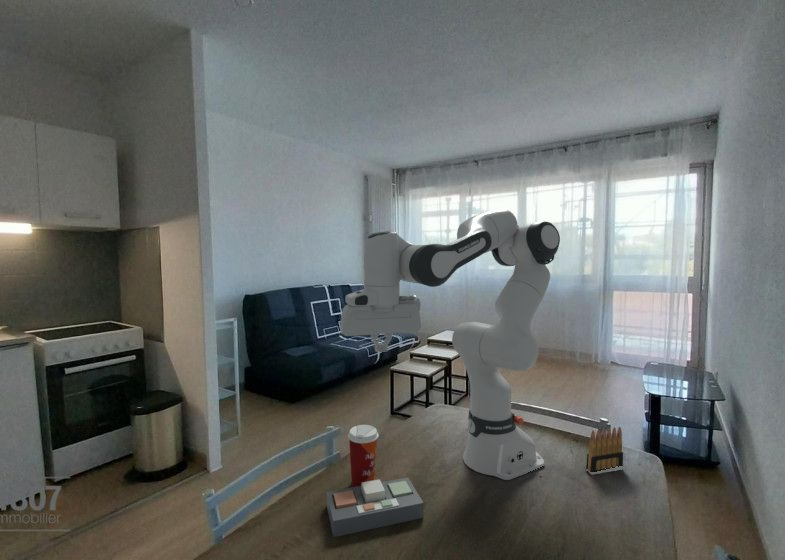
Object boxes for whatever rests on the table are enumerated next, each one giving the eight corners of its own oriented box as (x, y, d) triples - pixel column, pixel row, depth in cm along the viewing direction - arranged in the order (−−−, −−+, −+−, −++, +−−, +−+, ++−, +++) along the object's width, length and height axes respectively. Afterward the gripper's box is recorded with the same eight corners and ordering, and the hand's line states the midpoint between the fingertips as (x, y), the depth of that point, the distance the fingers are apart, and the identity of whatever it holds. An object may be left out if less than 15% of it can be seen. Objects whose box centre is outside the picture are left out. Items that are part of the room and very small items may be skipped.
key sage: (405, 490, 92) (405, 480, 91) (411, 501, 87) (412, 491, 87) (388, 493, 90) (388, 483, 90) (393, 505, 86) (393, 495, 86)
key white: (379, 489, 89) (379, 479, 89) (384, 500, 85) (385, 490, 85) (361, 492, 88) (361, 482, 88) (365, 504, 84) (365, 494, 84)
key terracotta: (352, 500, 88) (352, 490, 87) (356, 512, 83) (356, 502, 83) (333, 503, 86) (333, 493, 86) (336, 516, 82) (336, 505, 82)
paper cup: (373, 495, 92) (374, 439, 91) (343, 491, 93) (343, 436, 92) (381, 476, 100) (381, 425, 99) (353, 473, 101) (353, 422, 100)
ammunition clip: (590, 475, 101) (593, 432, 100) (585, 471, 103) (587, 429, 102) (623, 470, 104) (625, 427, 103) (617, 466, 106) (619, 424, 105)
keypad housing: (407, 490, 94) (408, 475, 93) (423, 517, 84) (423, 500, 84) (326, 506, 88) (326, 489, 87) (333, 537, 78) (333, 518, 78)
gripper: (416, 294, 100) (415, 345, 101) (339, 296, 94) (339, 350, 95) (425, 296, 94) (424, 351, 95) (343, 299, 88) (343, 357, 89)
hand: (381, 351), depth 95 cm, fingers closed
